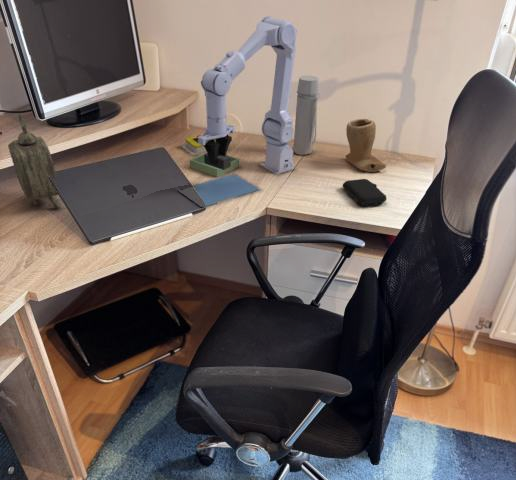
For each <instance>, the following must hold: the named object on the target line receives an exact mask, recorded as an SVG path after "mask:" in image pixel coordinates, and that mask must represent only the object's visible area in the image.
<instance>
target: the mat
mask: <svg viewBox="0 0 516 480" xmlns="http://www.w3.org/2000/svg"><path fill="white" fill-rule="evenodd" d="M192 186H193V187H194V188H195V190H196V191H197V193H198V194H199V196H200V197H201V199H202V200H203V202H204V204H205V206H204V207H203V208H202V209H205V208H207V207H211V206H213V205H217V204H218V203H220V202H223V201H226V200H229V199H236V198H239V197H243V196H246V195H249V194H252V193H254V192H258V191H260V188H259V187H257V186H255V185H254V184H252V183H250V182H248V181H246V180H245V179H243V178H242V177H240V176H238V175H237V174H235V173H233V174H229V175H226V176H222V177H218V178H215V179H211V180H209V181H205V182H201V183H198V184H195V185H192Z"/></svg>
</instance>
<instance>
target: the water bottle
mask: <svg viewBox="0 0 516 480" xmlns="http://www.w3.org/2000/svg"><path fill="white" fill-rule="evenodd" d="M320 97H321V94H320V92H319V77H317V76H315V75H301V76H299V78H298V84H297V91H296V108H295V120H294V132H293V135H294V136H293V148H292V149H293V153H295V154H296V155H299V156H308V155H310V154H312V152H313V146H314V143H315V142H316V140H317V115H318V112H317V109H318V107H317V106H318V99H319V98H320Z"/></svg>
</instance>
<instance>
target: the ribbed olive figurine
mask: <svg viewBox="0 0 516 480" xmlns="http://www.w3.org/2000/svg"><path fill="white" fill-rule="evenodd" d="M18 120H19V123H20V126H21V130H22V132H21V133H19V135H18V137H17V139H15V140H12V141H11V142H10V143H9V144H7V148H8V150H9V154H10V157H11V161H12V164H13V167H14V170H15V174H16V177H17V180H18V184H19V186H20V188H21V190H22V192H23V194H24V197H26V198H28V199H31V200H33V203H32V204H33V205H35V206H38V205H40V201H39V199H44V198H46V199H48V200H50V202H51V203H52V204H53V208H54V209H56V210H58V209H59V208H60V204H59V203H57V202H56V201H55V200H54V199H53V197H54V196H58V193H57V192H56V190H55V188H54V186H53V185H52V183H51V182H50V179H49V176H50V178H51V177H52V178H57V179H58V176H57V173H56V169H55V164H54V162H53V158H52V154H51V151H50V148H49V146H48V144H47V143H46V142H45V139H43V137H42V136H40V135H39V136H37V135H35V134H34V133H33V132H31V131H28V128H27V125H26V122H25V119H24V117H23V115H22V114H21V113H19V114H18Z"/></svg>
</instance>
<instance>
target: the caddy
mask: <svg viewBox="0 0 516 480" xmlns="http://www.w3.org/2000/svg"><path fill="white" fill-rule="evenodd" d="M204 154H207V152H206V153H201V154H199V155H198V156H195V157H193V158H190V159H189V166H190V167H189V168H191V169H194V170H195V171H198V172H201V173H204V174H206V175H210V176H212V177H215V178H220V177H221V176H223V175H225V174H227V173H230V172H232V171H233V170H235V169H237V168H240V158H239V157H234V156H232V155H228V154H226V157H229V158H231V167H229V168H227V169H225V170H222V169H219V168H216V167H214V166H211V165H208V164H205V163H204ZM217 154H218V153H217Z"/></svg>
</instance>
